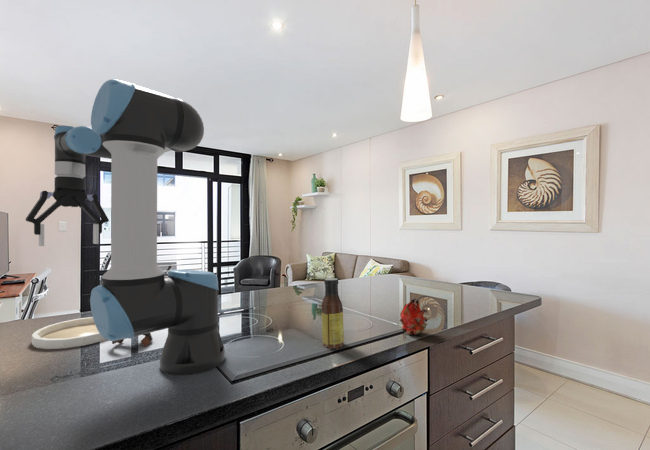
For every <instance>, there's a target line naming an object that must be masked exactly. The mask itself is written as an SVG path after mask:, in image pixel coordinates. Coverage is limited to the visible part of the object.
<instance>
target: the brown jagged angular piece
mask: <svg viewBox="0 0 650 450" xmlns="http://www.w3.org/2000/svg"><path fill="white" fill-rule="evenodd" d="M151 333H152V332H151ZM151 333H147V334H143V335H142V336H144V337H143V338H142V339H141V340H140V342H141V344H142V345H143V347H145V348H146V347H147V346H148V345H149V344H150V343H151V342H152V341H153V337H152V334H151ZM124 340H125V339H122V340H117V341H111V343H112V344H113V345H114V344H116V343H117V344H122V343H123V342H124Z"/></svg>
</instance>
